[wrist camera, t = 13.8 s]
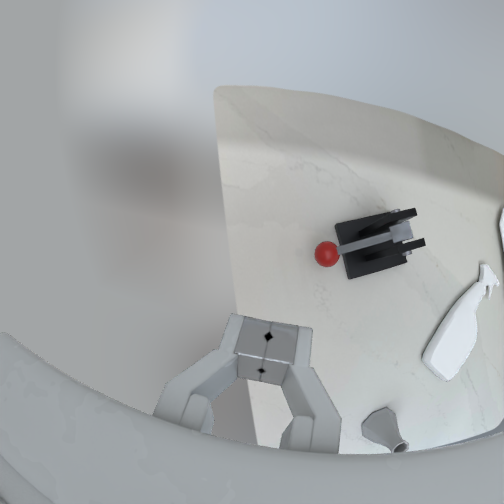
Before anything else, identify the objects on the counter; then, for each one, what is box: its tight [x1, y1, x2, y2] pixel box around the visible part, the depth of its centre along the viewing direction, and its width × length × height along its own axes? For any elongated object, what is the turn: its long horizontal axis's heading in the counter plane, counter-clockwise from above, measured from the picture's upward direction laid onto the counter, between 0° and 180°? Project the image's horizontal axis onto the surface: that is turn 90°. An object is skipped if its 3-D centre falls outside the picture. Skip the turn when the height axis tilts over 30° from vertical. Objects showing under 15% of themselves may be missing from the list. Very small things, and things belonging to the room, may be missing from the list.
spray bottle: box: [422, 264, 499, 382], centre depth 38 cm, size 3×11×24 cm
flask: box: [362, 408, 409, 453], centre depth 33 cm, size 7×7×10 cm
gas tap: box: [335, 208, 426, 279], centre depth 36 cm, size 11×9×13 cm
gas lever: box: [314, 221, 413, 267], centre depth 35 cm, size 14×4×4 cm
